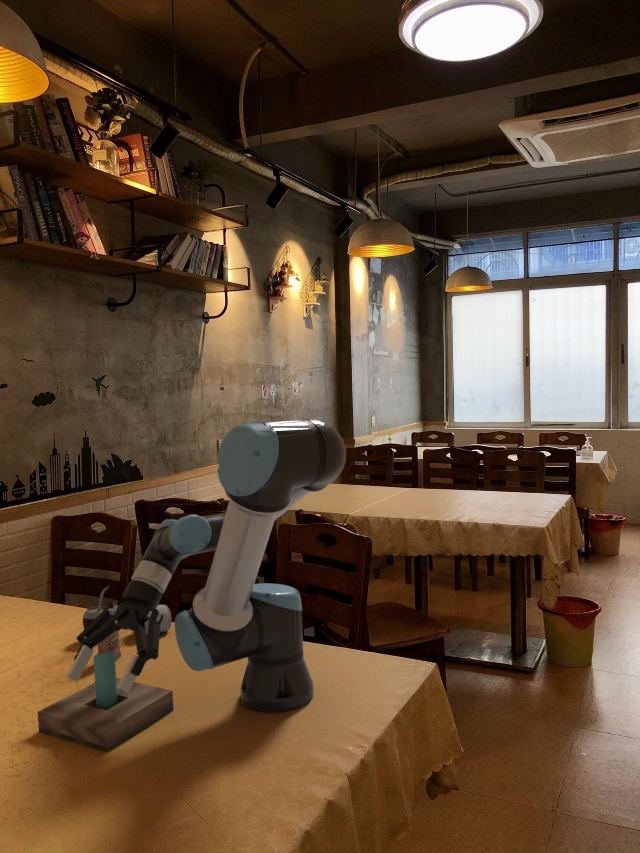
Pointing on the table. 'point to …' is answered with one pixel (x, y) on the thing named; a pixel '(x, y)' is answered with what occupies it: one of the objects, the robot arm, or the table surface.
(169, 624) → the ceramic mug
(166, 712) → the hole board
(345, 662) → the table surface
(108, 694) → the pin
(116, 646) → the lighter
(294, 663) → the robot arm
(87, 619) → the mate gourd
